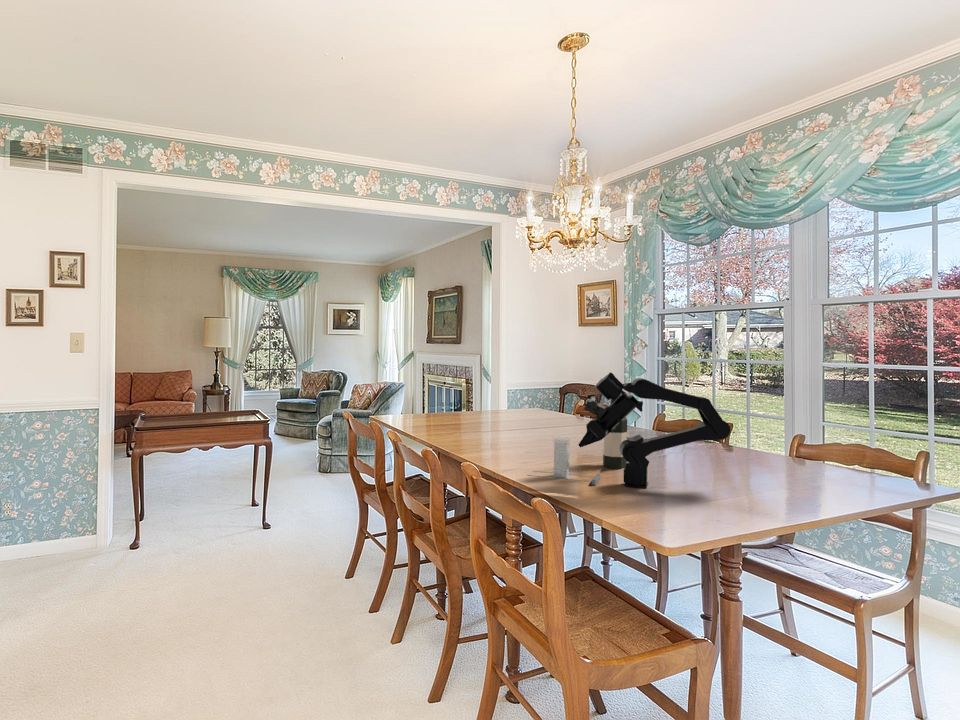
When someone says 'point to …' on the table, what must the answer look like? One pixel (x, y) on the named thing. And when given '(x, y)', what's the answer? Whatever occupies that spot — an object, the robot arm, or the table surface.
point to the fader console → (593, 482)
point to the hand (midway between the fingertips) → (582, 443)
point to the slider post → (561, 457)
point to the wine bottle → (615, 445)
